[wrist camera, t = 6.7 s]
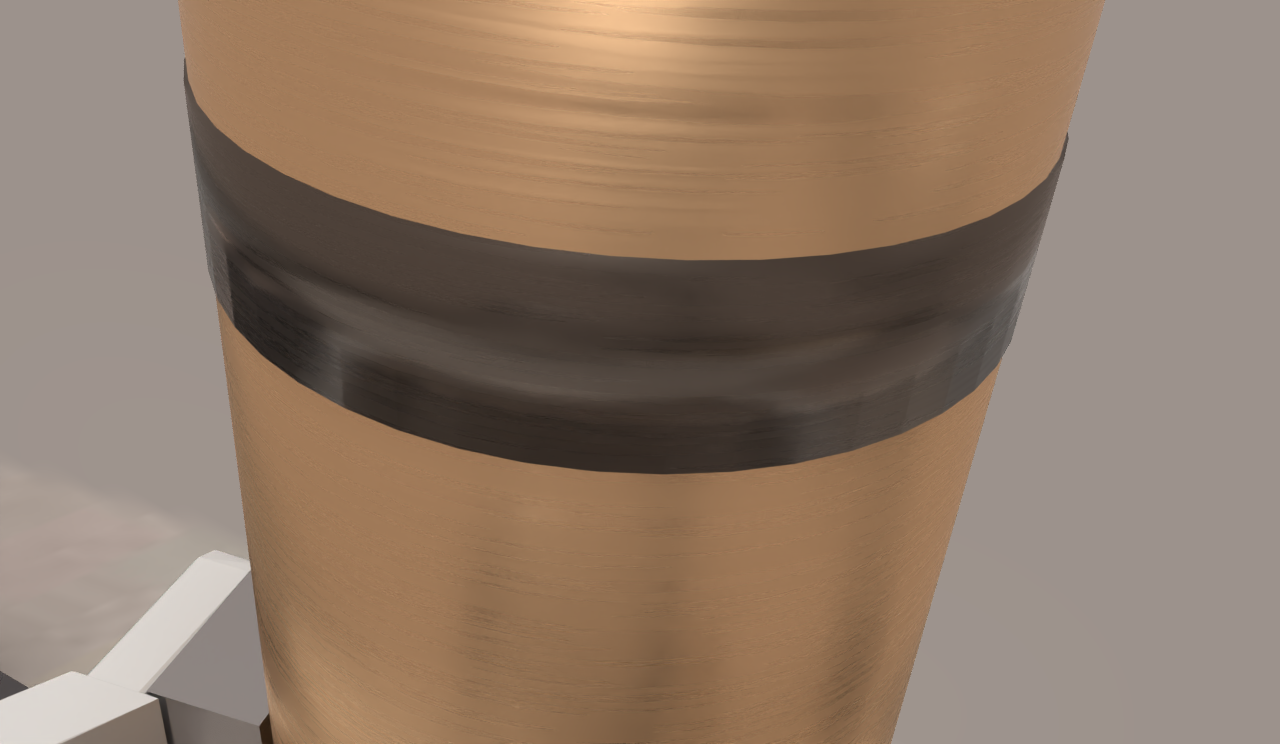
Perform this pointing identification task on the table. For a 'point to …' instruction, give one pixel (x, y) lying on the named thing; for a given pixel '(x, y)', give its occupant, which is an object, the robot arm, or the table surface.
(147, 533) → the table surface
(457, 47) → the tube
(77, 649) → the table surface
